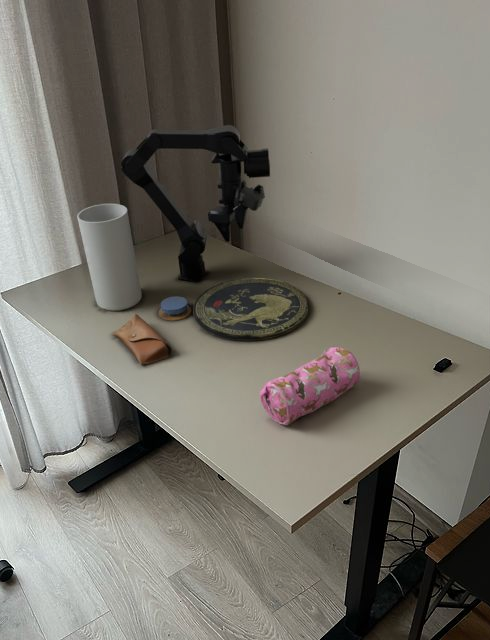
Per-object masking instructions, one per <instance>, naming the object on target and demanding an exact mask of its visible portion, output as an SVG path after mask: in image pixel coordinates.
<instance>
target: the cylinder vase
mask: <svg viewBox="0 0 490 640" xmlns="http://www.w3.org/2000/svg"><path fill="white" fill-rule="evenodd" d="M76 217H77V221H78V226H79V231H80V235H81V239H82V244H83V250H84V253H85V258H86V261H87V266H88V267H87V268H88V271H89V275H90V280H91V284H92V289H93V293H94V298H95V303H96V304H97V306H98V307H99V308H101V309H103V310H106V311H111V312H112V311H114V312H116V311H124V310H127V309H130V308H133V307H134V306H136V305H137V304H139V302H140V301H141V300H142V297H143V296H142V294H143V293H142V287H141V282H140V276H139V271H138V265H137V258H136V254H135V253H136V252H135V248H134V241H133V236H132V229H131V225H130V224H131V223H130V219H129V212H128V208H127V207H126V206H125V205H122V204H118V203H101V204H96V205H91V206H89V207H86V208H84V209H82V210H81V211H79V212H78V213H77V216H76Z"/></svg>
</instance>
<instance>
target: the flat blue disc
mask: <svg viewBox="0 0 490 640" xmlns="http://www.w3.org/2000/svg"><path fill="white" fill-rule="evenodd" d="M188 306H189V305H188V300H187V298H185V297H183V296H169V297H166V298H165V299H163V300H162V301H161V302H160V309H161V310H162V311H163V312H164V313H166V314H168V315H179V314H181V313H183V312H184V311H185V310H186V309H187V308H188Z"/></svg>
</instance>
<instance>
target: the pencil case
mask: <svg viewBox="0 0 490 640" xmlns="http://www.w3.org/2000/svg"><path fill="white" fill-rule="evenodd" d="M360 378H361V369H360V365H359V362H358V360H357V358H356V356H355V354H353V352H352V351H350V350H349V349H347V348H342V347H339V346H335V347H334V346H331V347H330V348H327V347H326V348H325V349H324V350H323V352H322V354H321V355H320V356H318V357H317V358H315V359H313V360H311V361H310V362H307V363H304V365H303V364H302V365H301V366H299V367H298V368H296V369H294V370H293V371H291V372H289V373H286V374H284V375H281V376H278V377H276V378H274V379H271V380H269V381H267V382H266V383H265V386H263V388H262V389H261V390H260V391H259V395H260V402H261V405H262V407H263V409H264V410H265V411H266V413H267V414H268V416H269V417H270V418H271V419H272V420H273V421H275V422H276V423H277V424H280V425H282V426H289V425H290V424H292V423H294V421H296V420H297V419H299V418H300V417H303V416H305V415H307V414H308V415H309V414H310V413H314V412H315V411H317V410H318V409H320V408H321V407H323V406H326V405H328V404H329V403H331V402H333V401H335V400H336V399H338V398H339V397H340V396H342V395H343V394H344V393H346V392H347V391H348V390H350V389H351V388H353V387H355V386H357V385H358V383H359V381H360Z"/></svg>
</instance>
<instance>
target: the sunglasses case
mask: <svg viewBox="0 0 490 640" xmlns="http://www.w3.org/2000/svg"><path fill="white" fill-rule="evenodd" d="M112 335H113V336H114V337H115V338H117V339H118V340H119V341H120V342H121V343H122V344H123V345H124V346H125V347H126V348H127V350H128V351H130V353H131V354H132V355H133V356H134V357H135V359H136V361H137V362H138V363H139V365H143V366H144V365H145V366H146V365H149V364H154V363H157V362H160V361H162V360H163V361H164V360H165V359H168V358H169V357H170V356H171V355H172V353H173V349H172V346H171V344H169V343H168V342H167V341H166V340H165V339H164V337H162V336H161V335H160V334H159V333H158V332H157V331H156V330H155V329H154V328H153V327H152V326H151V325H150V324H149V323H148V322H147V321H146V320H145V319H143V318H142V317H141V316H139V315H138V314H137V313H135V314H134V316H133V317H132V318H131V319H130V320H128V321H127V322H126V323H125V324H124V325H122V326H121V327H120V328H119V329H118V330H117V331H116V332H113V333H112Z"/></svg>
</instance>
